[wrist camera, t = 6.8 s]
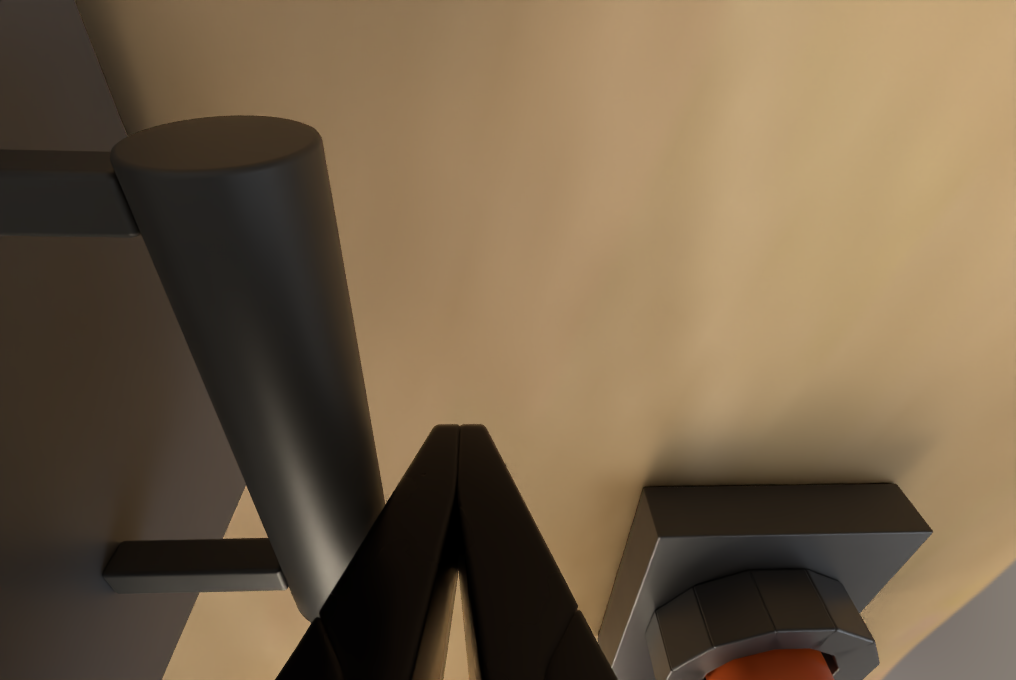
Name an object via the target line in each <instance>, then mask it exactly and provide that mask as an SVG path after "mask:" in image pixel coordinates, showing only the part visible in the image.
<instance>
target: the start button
mask: <svg viewBox="0 0 1016 680" xmlns="http://www.w3.org/2000/svg"><path fill="white" fill-rule="evenodd" d="M705 678H706V680H834V678H833V676H832V674H831V672H830V669H829V667H828V665H827V663H826V661H825V659H824V657H823V655H822V653H821V652H820V651H817V650H814V649H810V648H807V649H775V650H770V651H766V652H762V653H758V654H754V655H750V656H746V657H742V658H738V659H734V660H731V661H729V662H728V663H726V664H724V665H722V666H720V667H718V668H716V669H714V670H712V671H710V672H709V673H707V674H706V676H705Z"/></svg>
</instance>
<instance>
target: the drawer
mask: <svg viewBox="0 0 1016 680" xmlns="http://www.w3.org/2000/svg"><path fill="white" fill-rule="evenodd" d="M246 485H247V488H248V490H249V493H250V495H251V497H252V500H253V502H254V505H255V507H256V509H257V512H258V514H259V516H260V519H261V521H262V524H263V526H264V528H265V531H266V533H267V536H268V538H242V539H223V537H224V534H225V532H226V530H227V528H228V525H229V523H230V521H231V518H232V516H233V514H234V511H235V509H236V507H237V504H238V502H239V500H240V498H241V495H242V493H243V491H244V488H245V486H246ZM384 506H385V500H384V494H383V488H382V482H381V477H380V471H379V465H378V459H377V453H376V448H375V442H374V436H373V430H372V425H371V419H370V413H369V407H368V401H367V396H366V390H365V384H364V378H363V373H362V367H361V361H360V355H359V349H358V344H357V338H356V332H355V326H354V320H353V315H352V309H351V303H350V297H349V292H348V286H347V280H346V274H345V268H344V263H343V257H342V251H341V245H340V240H339V234H338V228H337V222H336V216H335V211H334V205H333V199H332V193H331V187H330V182H329V176H328V170H327V164H326V159H325V153H324V147H323V141H322V138H321V136H320V135H319V133H318V132H317V131H316V130H315V129H314V128H313V127H311V126H309V125H307V124H304V123H301V122H297V121H293V120H289V119H283V118H277V117H267V116H217V117H206V118H197V119H190V120H183V121H178V122H172V123H168V124H163V125H159V126H155V127H152V128H148V129H145V130H142V131H140V132H137V133H135V134H132V135H130V136H127V134H126V131H125V128H124V126H123V123H122V121H121V118H120V116H119V113H118V110H117V108H116V105H115V103H114V100H113V98H112V95H111V92H110V90H109V87H108V85H107V82H106V80H105V77H104V74H103V72H102V69H101V67H100V64H99V62H98V59H97V56H96V54H95V51H94V49H93V46H92V44H91V41H90V38H89V36H88V33H87V31H86V28H85V26H84V23H83V20H82V18H81V15H80V13H79V10H78V8H77V5H76V2H75V0H0V680H162V678H163V675H164V673H165V671H166V668H167V666H168V664H169V661H170V659H171V657H172V655H173V652H174V650H175V648H176V645H177V643H178V641H179V638H180V636H181V634H182V631H183V629H184V627H185V625H186V622H187V620H188V618H189V615H190V613H191V611H192V608H193V606H194V604H195V601H196V599H197V597H198V595H199V592H232V591H274V590H286V589H287V588H288V587H289V588H290V590H291V593H292V595H293V597H294V600H295V602H296V605H297V607H298V609H299V611H300V612H301V614H302V615H303V616H304V617H305V618H306V619H307V620H309V621H310V622H311V623H312V621H313V620H314V619H315V618H316V617H319V618H320V616H319V611H320V609H321V607H322V606H323V604H324V603H325V601H326V599H327V598H328V596H329V595H330V593H331V591H332V590H333V588H334V587H335V585H336V583H337V582H338V580H339V579H340V577H341V575H342V574H343V572H344V571H345V569H346V567H347V566H348V564H349V562H350V561H351V559H352V558H353V556H354V554H355V553H356V551H357V550H358V548H359V546H360V545H361V543H362V542H363V540H364V538H365V537H366V535H367V534H368V532H369V530H370V529H371V527H372V526H373V524H374V522H375V521H376V519H377V517H378V516H379V514H380V513H381V511H382V509H383V508H384Z"/></svg>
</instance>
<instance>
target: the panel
mask: <svg viewBox="0 0 1016 680" xmlns="http://www.w3.org/2000/svg"><path fill="white" fill-rule="evenodd" d="M932 533H933V530H932V529H931V528H930V527H929V525H928V524H927V523H926V521H925V520H924V519H923V518H922V516H921V515H920V514H919V512H918V511H917V510H916V509H915V507H914V506H913V505H912V503H911V502H910V501H909V500H908V498H907V497H906V496H905V494H904V493H903V492H902V490H901V489H900V488H899V487H898V485H897V484H843V485H771V486H698V487H644V488H643V491H642V494H641V498H640V501H639V504H638V508H637V511H636V514H635V517H634V521H633V524H632V527H631V531H630V534H629V537H628V540H627V544H626V547H625V550H624V554H623V557H622V560H621V563H620V567H619V570H618V573H617V577H616V580H615V583H614V587H613V590H612V593H611V596H610V600H609V603H608V606H607V610H606V613H605V616H604V619H603V623H602V626H601V629H600V633H599V636H598V643H599V646H600V648H601V650H602V651H603V653H604V655H605V657H606V659H607V660H608V662H609V664H610V666H611V668H612V669H613V671H614V673H615V675H616V677H617V678H618V680H706V678H705V676H706V674H707V673H709V672H710V671H712V670H714V669H716V668H718V667H720V666H722V665H724V664H726V663H728V662H729V661H731V660H734V659H738V658H742V657H746V656H750V655H754V654H758V653H762V652H766V651H770V650H775V649H807V648H810V649H814V650H817V651H820V652H821V653H822V655H823V657H824V659H825V661H826V663H827V665H828V667H829V669H830V672H831V674H832V676H833V678H834V680H863V679H864V678H865V677H866V676H867V675H868V674H869V673H870V672H871V671H872V670H874V669H875V668H876V667H877V666H878V665H879V663H880V662H879V657H878V653H877V648H876V644H875V640H874V638H873V637H872V635H871V633H870V631H869V630H868V628H867V626H866V624H865V623H864V621H863V619H862V617H861V616H860V614H859V613H860V612H861V611H862V610H863V609H864V608H865V607H866V606H867V605H868V604H869V602H870V601H871V600H872V599H873V598H874V597H875V596H876V595H877V594H878V593H879V591H880V590H881V589H882V588H883V587H884V586H885V585H886V584H887V583H888V581H889V580H890V579H891V578H892V577H893V576H894V575H895V574H896V573H897V572H898V570H899V569H900V568H901V567H902V566H903V565H904V564H905V563H906V562H907V561H908V559H909V558H910V557H911V556H912V555H913V554H914V553H915V552H916V551H917V550H918V548H919V547H920V546H921V545H922V544H923V543H924V542H925V541H926V540H927V538H928V537H929V536H930V535H931V534H932Z"/></svg>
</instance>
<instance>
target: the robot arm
mask: <svg viewBox="0 0 1016 680" xmlns="http://www.w3.org/2000/svg"><path fill="white" fill-rule="evenodd" d="M458 570H459V580H460V590H461V600H462V610H463V620H464V631H465V641H466V651H467V661H468V671H469V680H618V678H617V677H616V675H615V673H614V671H613V669H612V668H611V666H610V664H609V662H608V660H607V659H606V657H605V655H604V653H603V651H602V650H601V648H600V646H599V644H598V642H597V641H596V639H595V637H594V635H593V633H592V631H591V629H590V627H589V625H588V623H587V622H586V620H585V618H584V616H583V614H582V612H581V611H580V610H577V608H578V605H577V603H576V601H575V599H574V597H573V595H572V593H571V591H570V589H569V587H568V585H567V583H566V581H565V579H564V578H563V576H562V574H561V572H560V570H559V568H558V566H557V564H556V562H555V560H554V558H553V556H552V554H551V552H550V550H549V548H548V547H547V545H546V543H545V541H544V539H543V537H542V535H541V533H540V531H539V529H538V527H537V525H536V523H535V521H534V519H533V517H532V516H531V514H530V512H529V510H528V508H527V506H526V504H525V502H524V500H523V498H522V496H521V494H520V492H519V490H518V488H517V486H516V485H515V483H514V481H513V479H512V477H511V475H510V473H509V471H508V469H507V467H506V465H505V463H504V461H503V459H502V457H501V455H500V454H499V452H498V450H497V448H496V446H495V444H494V442H493V440H492V438H491V436H490V434H489V432H488V430H487V428H486V427H485V426H484V425H482V424H463V425H461V426H459V425H457V424H440V425H436V426H435V427H434V428H433V429H432V431H431V432H430V434H429V436H428V437H427V439H426V440H425V442H424V444H423V445H422V447H421V448H420V450H419V452H418V453H417V455H416V456H415V458H414V460H413V461H412V463H411V464H410V466H409V468H408V469H407V471H406V472H405V474H404V476H403V477H402V479H401V481H400V482H399V484H398V485H397V487H396V489H395V490H394V492H393V493H392V495H391V497H390V498H389V500H388V501H387V503H386V505H385V506H384V508H383V509H382V511H381V513H380V514H379V516H378V517H377V519H376V521H375V522H374V524H373V526H372V527H371V529H370V530H369V532H368V534H367V535H366V537H365V538H364V540H363V542H362V543H361V545H360V546H359V548H358V550H357V551H356V553H355V554H354V556H353V558H352V559H351V561H350V562H349V564H348V566H347V567H346V569H345V571H344V572H343V574H342V575H341V577H340V579H339V580H338V582H337V583H336V585H335V587H334V588H333V590H332V591H331V593H330V595H329V596H328V598H327V599H326V601H325V603H324V604H323V606H322V607H321V609H320V611H319V616H320V618H319V617H316V618H315V619H314V620H313V621H312V623H311V625H310V626H309V628H308V630H307V631H306V633H305V634H304V636H303V638H302V639H301V641H300V642H299V644H298V646H297V647H296V649H295V650H294V652H293V653H292V655H291V656H290V658H289V659H288V661H287V662H286V664H285V665H284V667H283V668H282V670H281V671H280V673H279V674H278V676H277V677H276V679H275V680H443V678H444V671H445V664H446V657H447V650H448V643H449V636H450V628H451V621H452V614H453V607H454V600H455V593H456V586H457V579H458Z"/></svg>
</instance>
